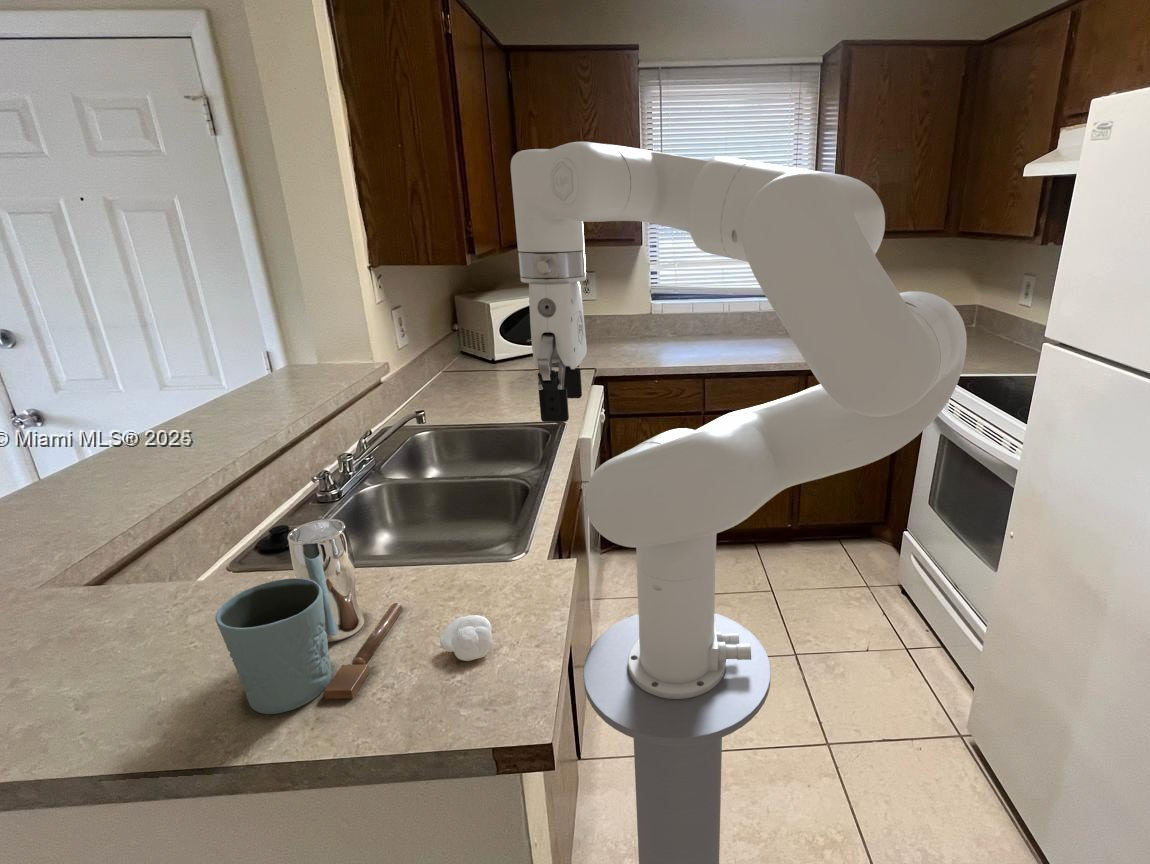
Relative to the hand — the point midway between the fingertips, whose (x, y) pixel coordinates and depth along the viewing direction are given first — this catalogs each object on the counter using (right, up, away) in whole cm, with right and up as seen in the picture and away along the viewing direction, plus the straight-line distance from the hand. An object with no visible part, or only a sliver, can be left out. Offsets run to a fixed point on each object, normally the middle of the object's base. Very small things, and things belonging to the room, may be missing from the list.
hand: (563, 408), depth 77 cm
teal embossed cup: (-32, -34, -3) cm, 46 cm away
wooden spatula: (-25, -31, +2) cm, 40 cm away
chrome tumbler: (-32, -30, +7) cm, 44 cm away
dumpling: (-13, -31, +2) cm, 34 cm away
